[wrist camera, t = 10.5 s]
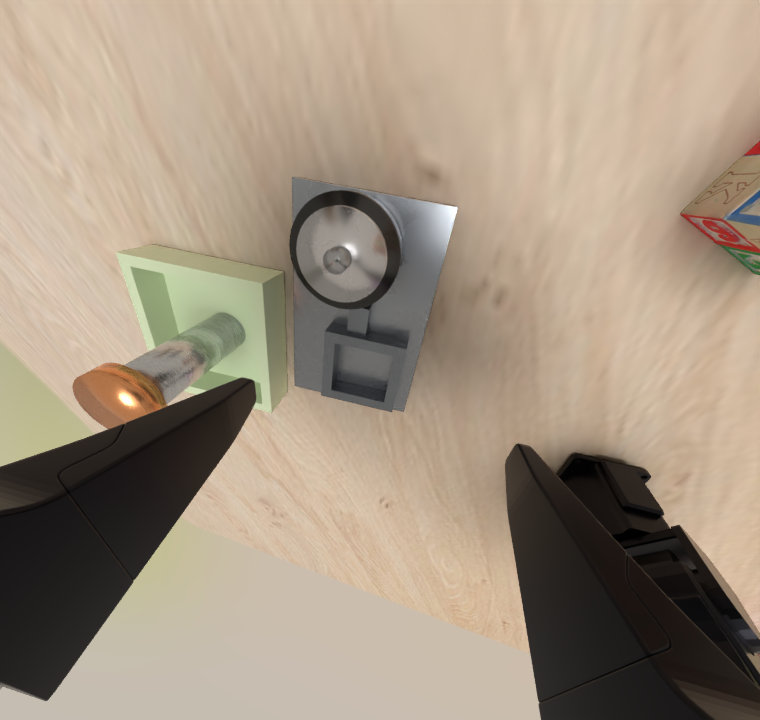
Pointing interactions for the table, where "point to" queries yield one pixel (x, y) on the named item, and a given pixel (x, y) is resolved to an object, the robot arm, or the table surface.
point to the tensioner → (363, 288)
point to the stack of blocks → (733, 210)
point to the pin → (157, 372)
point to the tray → (213, 312)
